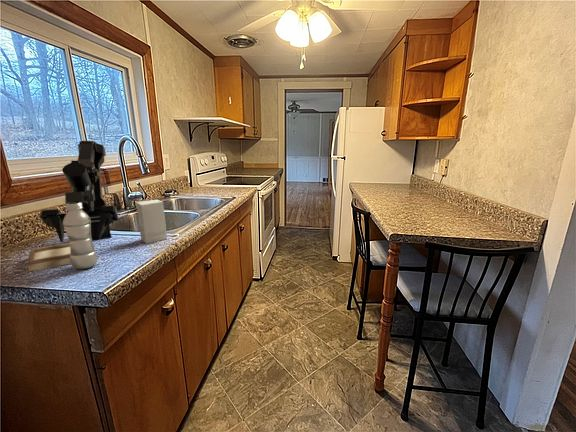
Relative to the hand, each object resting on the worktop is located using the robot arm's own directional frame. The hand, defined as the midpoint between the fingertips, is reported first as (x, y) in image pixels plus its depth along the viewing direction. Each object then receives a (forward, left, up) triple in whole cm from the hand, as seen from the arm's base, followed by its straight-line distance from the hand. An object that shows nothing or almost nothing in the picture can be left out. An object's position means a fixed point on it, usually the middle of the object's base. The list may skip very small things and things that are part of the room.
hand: (80, 239), depth 81 cm
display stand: (+7, -12, -9) cm, 16 cm away
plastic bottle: (0, 0, -9) cm, 9 cm away
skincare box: (-23, -15, -9) cm, 29 cm away
